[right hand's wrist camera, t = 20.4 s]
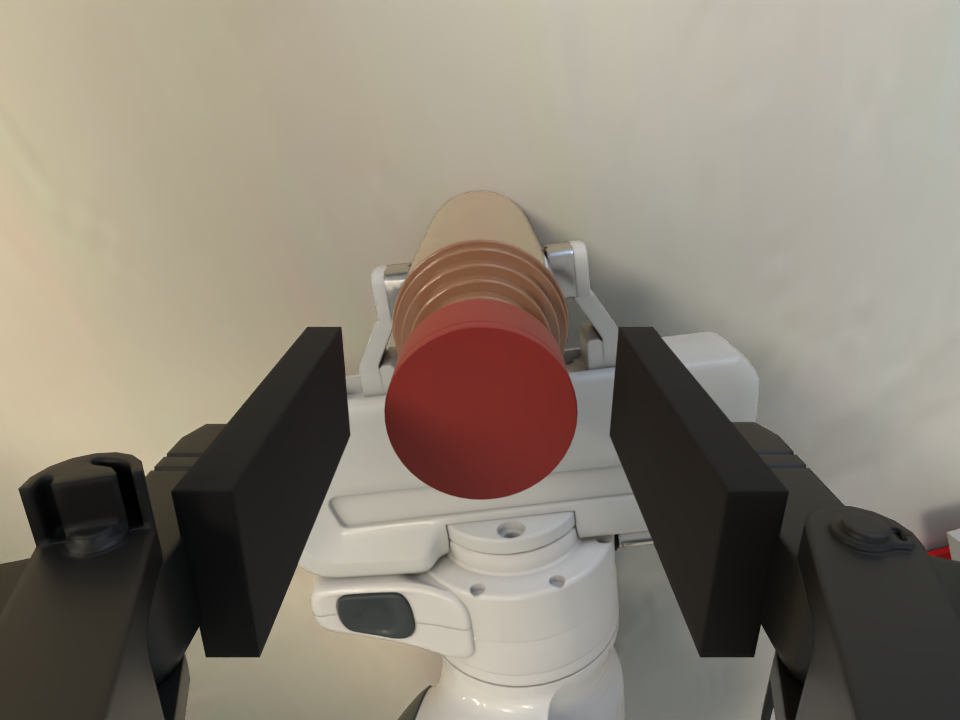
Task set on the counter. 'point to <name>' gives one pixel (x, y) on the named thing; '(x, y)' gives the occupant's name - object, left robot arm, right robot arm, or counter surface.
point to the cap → (480, 401)
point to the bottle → (480, 266)
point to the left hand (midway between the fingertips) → (476, 255)
